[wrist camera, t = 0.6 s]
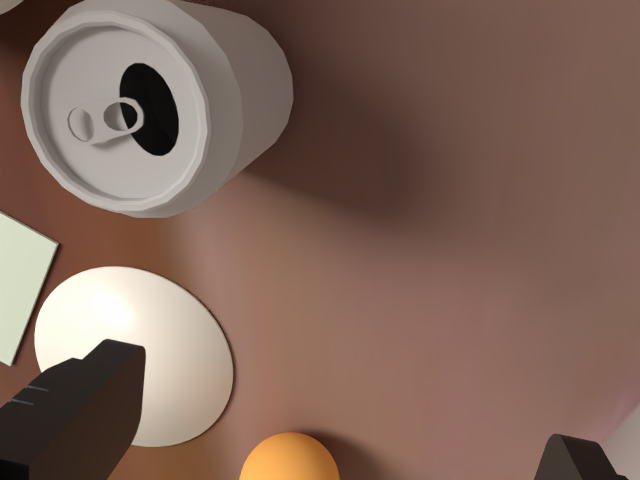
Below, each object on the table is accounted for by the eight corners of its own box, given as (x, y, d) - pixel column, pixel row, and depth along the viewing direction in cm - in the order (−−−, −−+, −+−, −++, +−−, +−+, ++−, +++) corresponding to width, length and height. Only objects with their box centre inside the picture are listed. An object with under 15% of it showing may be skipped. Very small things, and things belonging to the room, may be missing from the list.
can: (310, 148, 28) (254, 216, 17) (177, 171, 30) (46, 248, 19) (278, -6, 26) (190, -44, 15) (136, 27, 27) (-42, 16, 16)
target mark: (74, 226, 32) (72, 227, 31) (268, 334, 32) (268, 336, 32) (12, 384, 36) (10, 385, 36) (183, 475, 37) (182, 477, 37)
